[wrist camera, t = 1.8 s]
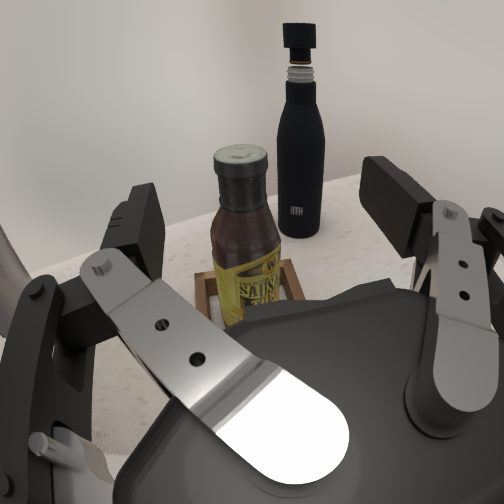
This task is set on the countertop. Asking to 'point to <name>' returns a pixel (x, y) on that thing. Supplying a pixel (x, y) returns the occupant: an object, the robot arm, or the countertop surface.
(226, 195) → the sauce bottle
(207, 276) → the walnut cradle
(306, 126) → the black water bottle
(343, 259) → the countertop surface
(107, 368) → the countertop surface
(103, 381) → the countertop surface
